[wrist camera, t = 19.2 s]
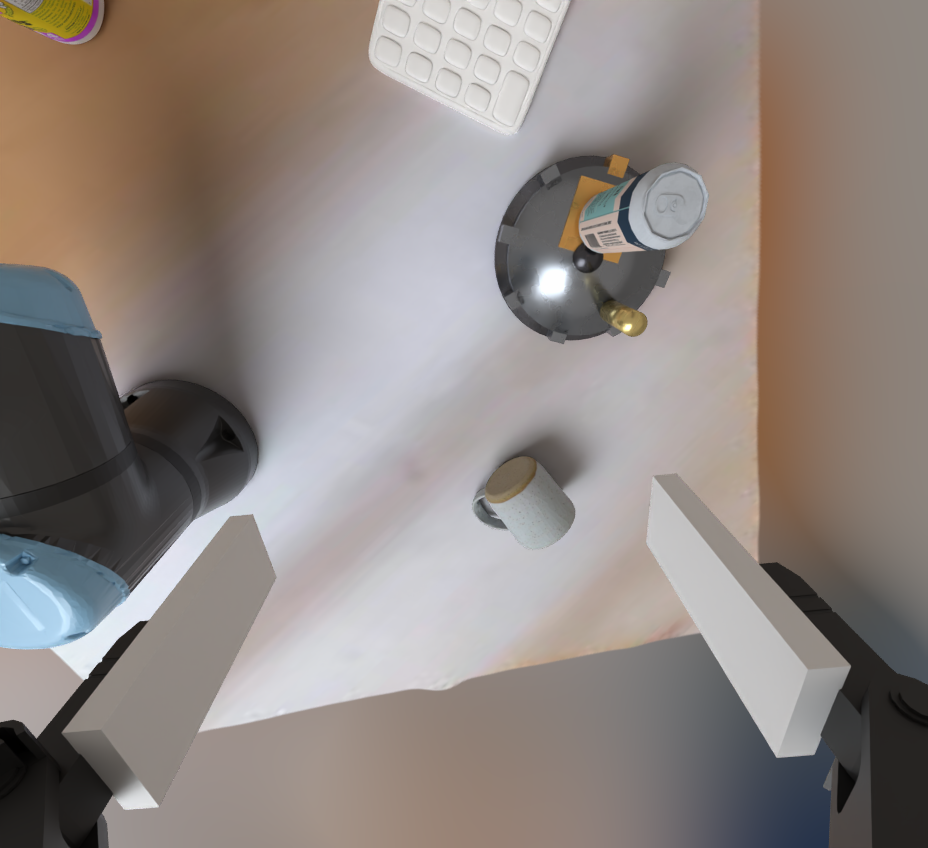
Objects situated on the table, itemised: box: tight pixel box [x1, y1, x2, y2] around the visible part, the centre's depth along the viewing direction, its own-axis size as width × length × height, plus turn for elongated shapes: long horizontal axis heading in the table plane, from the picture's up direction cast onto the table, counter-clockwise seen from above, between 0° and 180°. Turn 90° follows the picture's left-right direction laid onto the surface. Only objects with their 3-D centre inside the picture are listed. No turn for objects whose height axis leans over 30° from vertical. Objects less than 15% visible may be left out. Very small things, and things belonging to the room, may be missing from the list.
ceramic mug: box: [472, 456, 575, 550], centre depth 48 cm, size 11×8×8 cm
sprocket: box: [498, 154, 671, 344], centre depth 36 cm, size 16×16×8 cm
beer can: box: [579, 162, 709, 253], centre depth 31 cm, size 5×5×12 cm
